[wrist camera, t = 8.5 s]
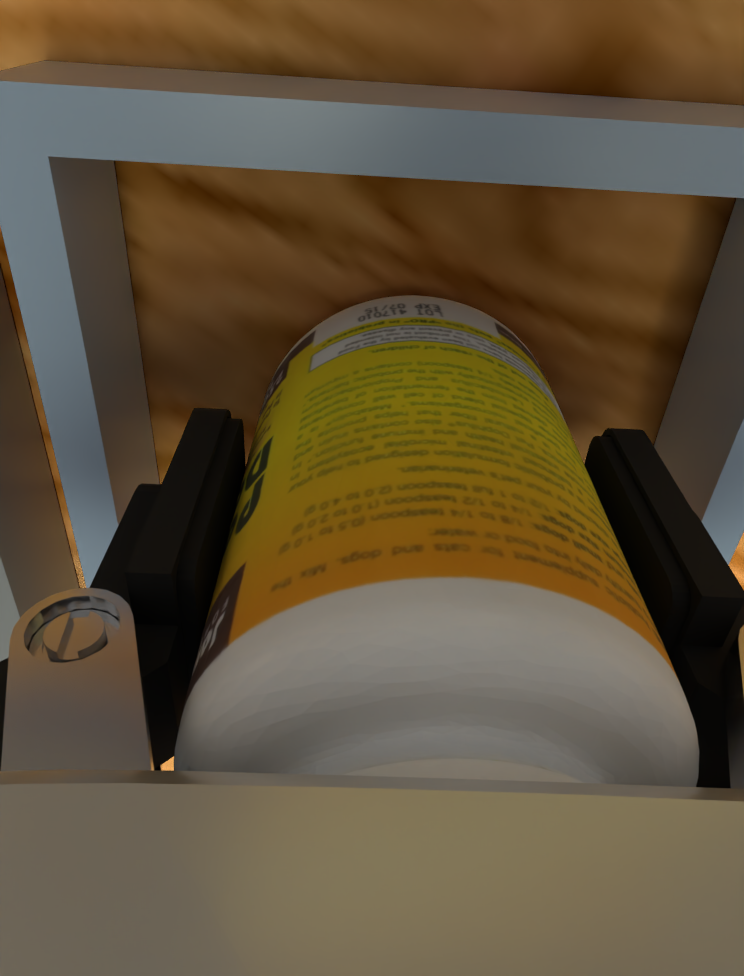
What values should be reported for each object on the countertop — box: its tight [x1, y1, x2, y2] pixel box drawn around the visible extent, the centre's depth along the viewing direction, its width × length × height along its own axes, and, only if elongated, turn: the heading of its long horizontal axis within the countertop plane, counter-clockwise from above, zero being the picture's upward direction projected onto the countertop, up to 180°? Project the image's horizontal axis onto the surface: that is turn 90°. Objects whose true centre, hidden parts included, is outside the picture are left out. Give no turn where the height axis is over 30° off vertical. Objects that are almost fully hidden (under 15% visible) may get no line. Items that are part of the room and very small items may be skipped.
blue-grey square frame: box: [0, 60, 744, 588], centre depth 13 cm, size 12×12×2 cm
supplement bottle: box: [174, 295, 699, 787], centre depth 10 cm, size 6×6×10 cm
